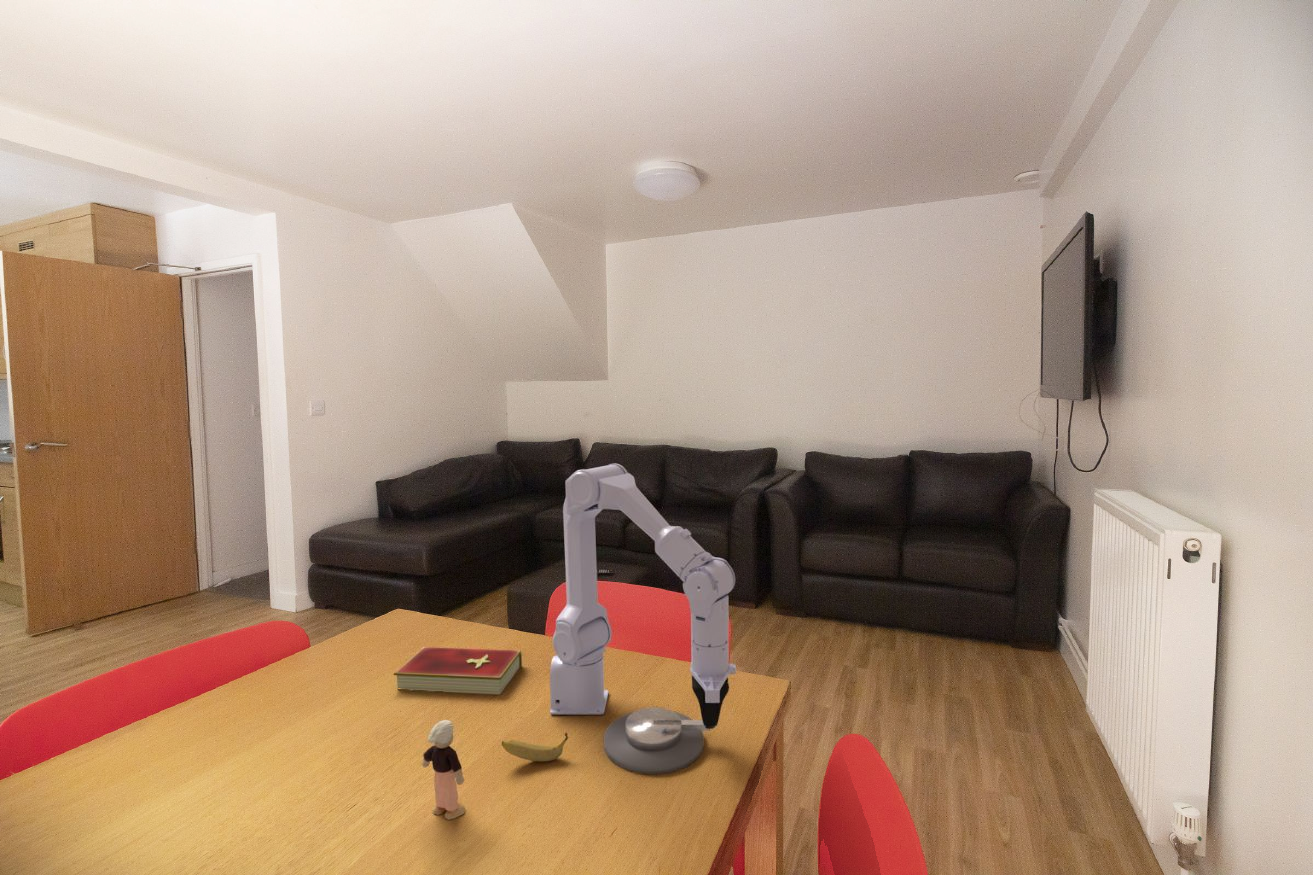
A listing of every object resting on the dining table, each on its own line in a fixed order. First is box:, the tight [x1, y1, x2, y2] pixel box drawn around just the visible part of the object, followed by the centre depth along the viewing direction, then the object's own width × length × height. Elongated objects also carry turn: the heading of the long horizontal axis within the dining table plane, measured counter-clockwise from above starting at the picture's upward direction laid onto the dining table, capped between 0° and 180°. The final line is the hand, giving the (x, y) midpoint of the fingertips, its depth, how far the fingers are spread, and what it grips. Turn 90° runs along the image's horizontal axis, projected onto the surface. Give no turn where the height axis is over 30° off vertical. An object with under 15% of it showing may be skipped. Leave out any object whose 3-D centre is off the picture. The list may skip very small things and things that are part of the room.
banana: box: [501, 732, 569, 763], centre depth 97 cm, size 10×2×4 cm, turn 98°
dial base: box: [603, 711, 704, 775], centre depth 102 cm, size 16×16×1 cm
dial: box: [625, 707, 717, 751], centre depth 101 cm, size 14×9×6 cm, turn 88°
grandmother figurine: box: [421, 719, 466, 821], centre depth 86 cm, size 8×4×13 cm, turn 71°
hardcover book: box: [393, 646, 523, 695], centre depth 124 cm, size 12×21×4 cm, turn 83°
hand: (710, 723), depth 98 cm, fingers closed
